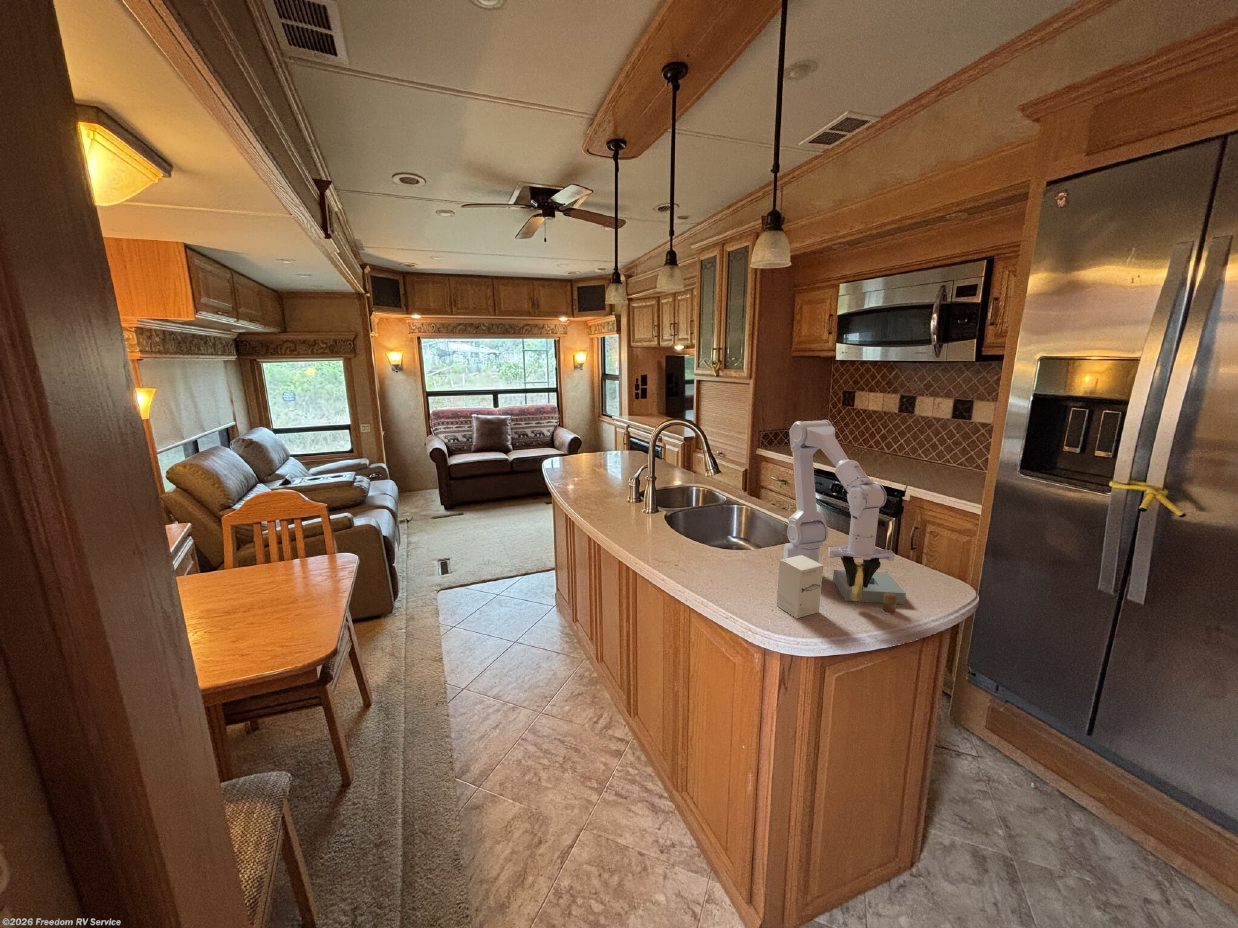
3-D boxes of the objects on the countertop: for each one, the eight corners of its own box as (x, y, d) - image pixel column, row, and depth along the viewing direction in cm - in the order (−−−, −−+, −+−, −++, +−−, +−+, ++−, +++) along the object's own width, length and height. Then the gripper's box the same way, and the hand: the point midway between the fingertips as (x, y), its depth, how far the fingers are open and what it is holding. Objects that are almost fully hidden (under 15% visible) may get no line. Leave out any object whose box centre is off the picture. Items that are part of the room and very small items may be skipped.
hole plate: (845, 600, 124) (846, 589, 123) (832, 579, 136) (833, 569, 135) (904, 603, 122) (905, 593, 121) (886, 582, 134) (887, 572, 133)
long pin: (851, 600, 118) (855, 566, 116) (847, 595, 121) (851, 561, 119) (863, 601, 118) (867, 567, 116) (859, 595, 121) (863, 562, 119)
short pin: (884, 612, 118) (886, 597, 117) (880, 606, 121) (882, 591, 120) (896, 613, 118) (898, 598, 117) (892, 607, 121) (894, 592, 120)
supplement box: (796, 619, 116) (800, 570, 113) (775, 605, 122) (778, 558, 119) (820, 612, 118) (824, 564, 116) (798, 599, 125) (801, 553, 122)
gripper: (835, 537, 113) (830, 591, 116) (902, 540, 111) (895, 595, 114) (827, 527, 120) (822, 578, 123) (890, 529, 118) (883, 581, 121)
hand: (857, 585), depth 119 cm, fingers closed on long pin, 3 cm apart
